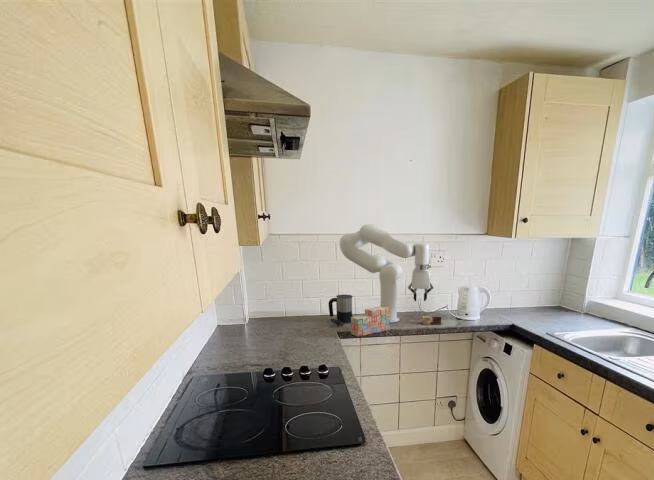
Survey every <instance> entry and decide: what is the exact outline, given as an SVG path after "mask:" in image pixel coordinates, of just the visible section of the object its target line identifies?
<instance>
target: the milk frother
mask: <svg viewBox="0 0 654 480" xmlns="http://www.w3.org/2000/svg"><path fill="white" fill-rule="evenodd" d="M334 302H335V303H336V319H335V318H332V317H333V316H334V307H333V306H334V305H333V303H334ZM328 312H329V313H328V314H329V317H330V319H329V320H330V322H331V323H332V324H335V325H337V326H343V325H344V324H348V323H351V317H353V295H351V294H337V295H335V297H332V298H330V299H329V301H328Z"/></svg>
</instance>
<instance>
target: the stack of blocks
mask: <svg viewBox="0 0 654 480" xmlns="http://www.w3.org/2000/svg"><path fill="white" fill-rule="evenodd" d="M380 306H381V305H380ZM380 306H374V307H368V308H364V314H362V315H355V316H352V317H351V322H350V335H353V336H356V337H363V336H367V335H373V334H378V333H382V332H387V331H390V324H391V323H390V308H388V307H384V306H381V307H380Z"/></svg>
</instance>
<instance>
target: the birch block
mask: <svg viewBox="0 0 654 480" xmlns="http://www.w3.org/2000/svg"><path fill="white" fill-rule="evenodd" d="M421 323H422V325H431V317H430V315H422V318H421Z"/></svg>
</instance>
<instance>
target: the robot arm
mask: <svg viewBox="0 0 654 480" xmlns="http://www.w3.org/2000/svg"><path fill="white" fill-rule="evenodd" d="M367 244H372V245H375V246H377V247H379V248H382V249H383V250H385V251H386V252H388V253H390V254H391V255H394V256H397V257H399V258H401V259H408V258H412V257H414V268H413V269H412V272H411V282H410V283H409V284H408V285H407V290H409V291H411V293H412V294H413V300H414V302H417V290H424V292H423V301H424V302H426V301H427V300H428V294H429V293H430V292H431V291H432V290H433V289H434V286H433V285H432V283H431V272H430V269H431V268H432V265H431V264H429V263H430V244H429V243H425V242H421V243H418V242H417V243H416V242H403V241H400V240H398V239H395V238H394V237H392V236H391V234H390V233H389V232H387V231H385V230H382V229H380V228H379V227H378V226H377V225H375V224H372V223H371V224H370V223H369V224H364V225H362V226H361V227H360V228H359V230H358V231H356V232H350V233H346V234H344V235H342V236H341V237H340V239H339V248H340V251H341V253H342V255H343V256H344V257H345V259H347V260H349V261H351V262H352V263H354V264H355V265H357V266H358V267H361V268H362V269H364V270H366V271H367V272H368V273H371V274H376V273H379V275H378V276H379V277H378V279H379V287H380V290H379V292H380V293H379V294H380V306H379V307H381V306H384V307H388V308H390V324H392V323H393V324H394V323H397V322H400V317H398V315H397V313H398V285H397V280H399V279H400V278H402V275H403V269H402V267H401V265H400V264H398V263H397V262H395V261H393V260H391V259H390V258H388V257H386V256H385V255H382V254H371V253H369V252H367V251H365V250H363V249H361V247H363V246H365V245H367Z"/></svg>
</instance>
